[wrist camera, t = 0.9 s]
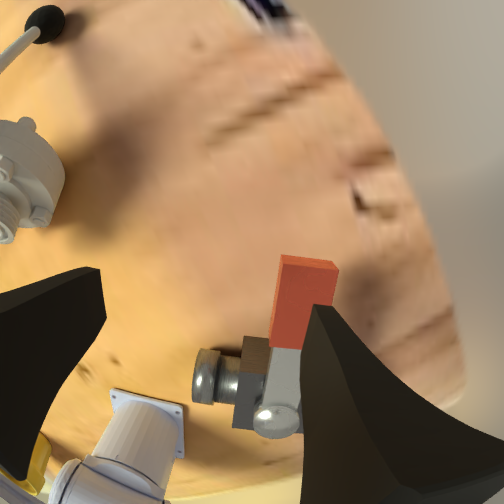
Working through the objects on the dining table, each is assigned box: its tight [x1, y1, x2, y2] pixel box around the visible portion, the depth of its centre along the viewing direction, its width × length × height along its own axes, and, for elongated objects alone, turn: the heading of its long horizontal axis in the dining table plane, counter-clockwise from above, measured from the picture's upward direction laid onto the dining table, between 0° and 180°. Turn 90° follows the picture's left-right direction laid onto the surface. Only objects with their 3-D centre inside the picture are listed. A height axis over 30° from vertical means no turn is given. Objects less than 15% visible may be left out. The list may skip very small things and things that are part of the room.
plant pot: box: [0, 432, 52, 496], centre depth 27 cm, size 10×10×10 cm
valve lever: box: [253, 255, 339, 439], centre depth 18 cm, size 13×3×2 cm, turn 173°
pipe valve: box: [192, 336, 304, 433], centre depth 23 cm, size 6×13×5 cm, turn 83°
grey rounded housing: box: [0, 5, 65, 244], centre depth 17 cm, size 10×20×15 cm
